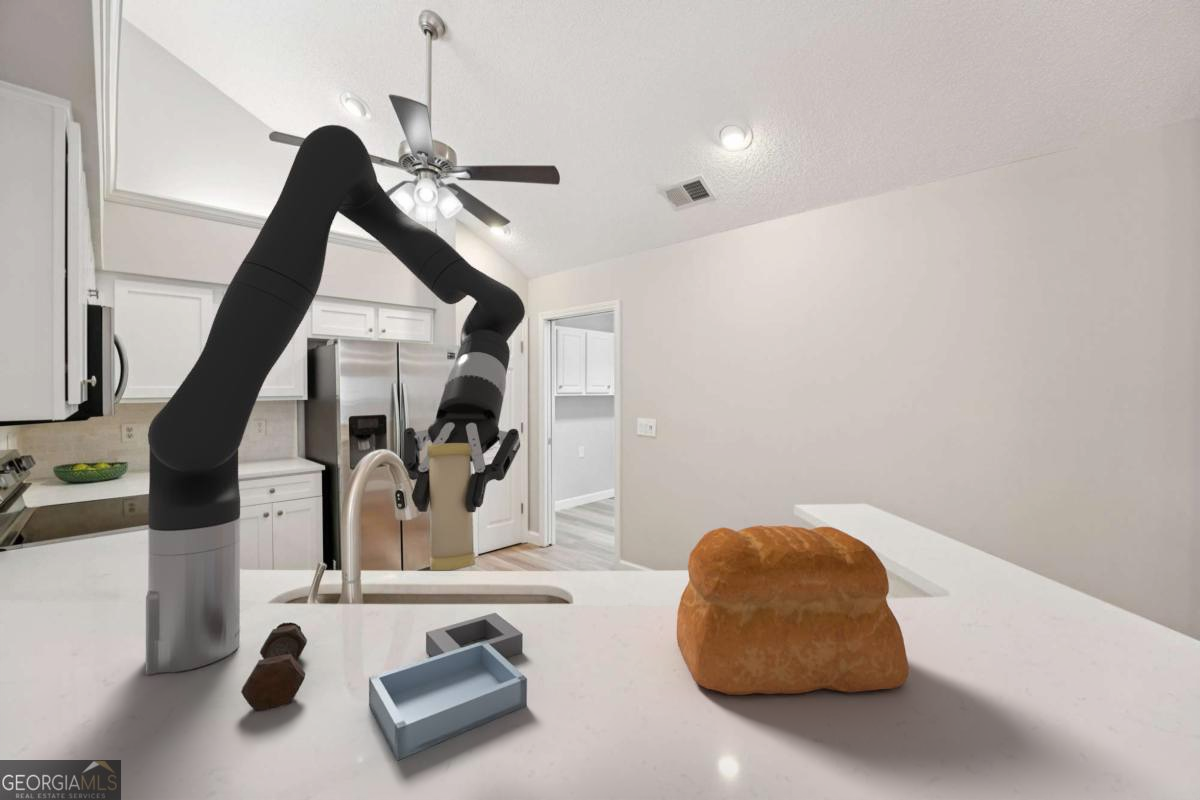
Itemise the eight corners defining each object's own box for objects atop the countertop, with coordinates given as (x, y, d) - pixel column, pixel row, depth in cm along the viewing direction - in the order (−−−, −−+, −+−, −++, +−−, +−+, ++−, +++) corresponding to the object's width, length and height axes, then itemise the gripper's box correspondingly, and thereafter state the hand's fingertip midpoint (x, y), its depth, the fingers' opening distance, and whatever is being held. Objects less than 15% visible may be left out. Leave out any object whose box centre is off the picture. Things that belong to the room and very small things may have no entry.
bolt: (293, 659, 67) (281, 720, 54) (255, 647, 65) (231, 707, 52) (318, 617, 69) (312, 666, 55) (281, 604, 67) (265, 652, 53)
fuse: (444, 571, 50) (440, 442, 52) (422, 569, 53) (420, 447, 55) (483, 564, 53) (478, 443, 56) (460, 562, 56) (457, 448, 59)
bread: (924, 697, 57) (926, 546, 57) (698, 704, 55) (699, 549, 55) (847, 632, 72) (848, 514, 72) (669, 636, 71) (670, 515, 71)
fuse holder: (448, 678, 60) (448, 657, 60) (425, 651, 66) (426, 632, 66) (522, 652, 66) (522, 633, 66) (495, 629, 72) (495, 612, 72)
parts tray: (397, 760, 46) (397, 728, 46) (369, 704, 54) (369, 676, 54) (526, 705, 54) (526, 678, 54) (484, 664, 63) (484, 640, 63)
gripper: (531, 415, 67) (516, 527, 55) (425, 413, 67) (387, 526, 55) (526, 374, 62) (508, 488, 50) (411, 372, 62) (365, 487, 50)
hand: (445, 507), depth 53 cm, fingers closed on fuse, 4 cm apart
